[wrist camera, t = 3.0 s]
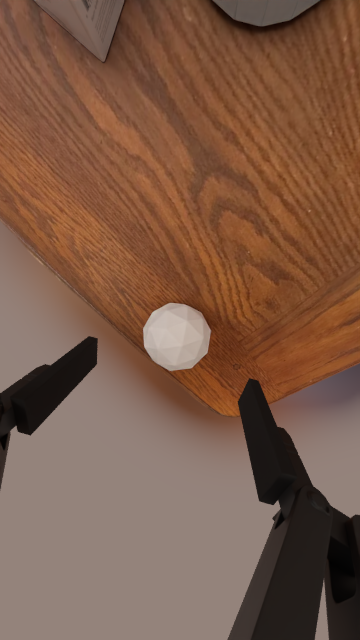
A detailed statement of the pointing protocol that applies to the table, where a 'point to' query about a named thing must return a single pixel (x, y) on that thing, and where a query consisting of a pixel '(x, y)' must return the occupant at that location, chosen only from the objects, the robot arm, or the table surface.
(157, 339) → the geometric ball
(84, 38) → the ink box
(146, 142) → the table surface
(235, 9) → the bowl
